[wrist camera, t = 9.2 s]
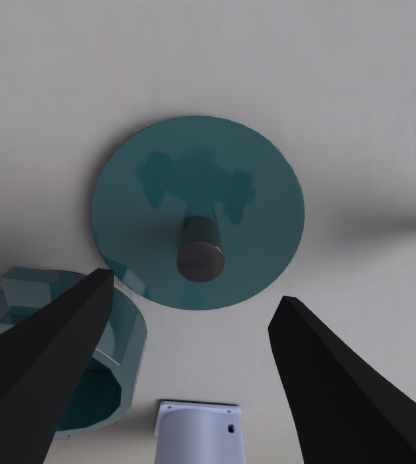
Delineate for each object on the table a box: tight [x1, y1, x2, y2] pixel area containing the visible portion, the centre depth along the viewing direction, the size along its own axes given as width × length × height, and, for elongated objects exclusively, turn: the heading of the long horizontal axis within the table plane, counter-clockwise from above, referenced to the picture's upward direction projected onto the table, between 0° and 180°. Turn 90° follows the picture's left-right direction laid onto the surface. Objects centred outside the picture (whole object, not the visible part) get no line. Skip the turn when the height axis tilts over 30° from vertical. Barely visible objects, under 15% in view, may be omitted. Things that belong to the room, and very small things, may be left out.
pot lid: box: [91, 116, 305, 310], centre depth 13 cm, size 14×14×4 cm
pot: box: [0, 267, 147, 440], centre depth 17 cm, size 13×18×5 cm
